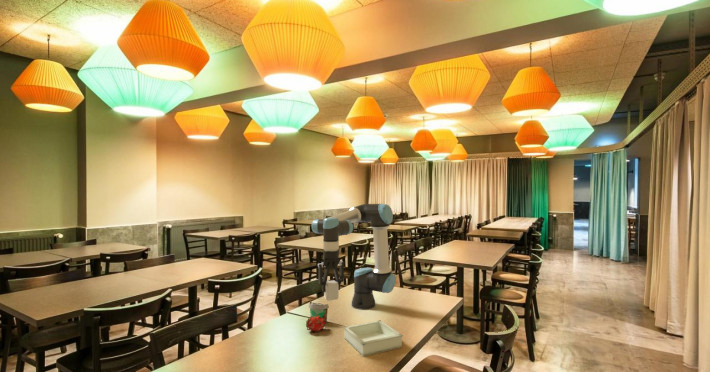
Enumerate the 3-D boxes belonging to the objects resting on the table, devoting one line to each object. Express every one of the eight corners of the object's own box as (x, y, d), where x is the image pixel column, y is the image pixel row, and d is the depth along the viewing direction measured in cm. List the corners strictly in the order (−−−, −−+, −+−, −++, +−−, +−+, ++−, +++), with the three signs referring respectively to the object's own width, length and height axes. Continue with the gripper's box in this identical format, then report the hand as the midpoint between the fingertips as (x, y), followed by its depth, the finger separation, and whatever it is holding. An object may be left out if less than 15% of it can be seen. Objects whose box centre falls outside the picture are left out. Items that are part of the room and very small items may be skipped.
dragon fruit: (303, 336, 175) (324, 334, 181) (310, 330, 170) (331, 328, 176) (301, 319, 180) (321, 318, 186) (308, 313, 175) (328, 312, 181)
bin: (380, 331, 177) (380, 320, 177) (402, 347, 158) (402, 335, 158) (343, 338, 168) (343, 327, 168) (362, 356, 149) (362, 343, 149)
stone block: (334, 296, 170) (334, 280, 170) (337, 299, 165) (337, 282, 165) (324, 297, 167) (324, 281, 168) (328, 300, 163) (328, 283, 163)
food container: (304, 321, 190) (304, 303, 190) (310, 318, 195) (310, 300, 196) (322, 325, 184) (322, 307, 184) (328, 322, 190) (328, 303, 190)
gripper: (345, 247, 174) (345, 293, 173) (310, 250, 166) (311, 298, 166) (351, 249, 167) (351, 297, 167) (315, 252, 159) (316, 302, 159)
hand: (331, 297), depth 166 cm, fingers closed on stone block, 5 cm apart
